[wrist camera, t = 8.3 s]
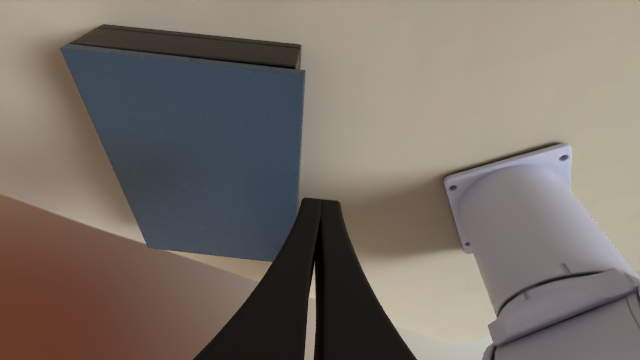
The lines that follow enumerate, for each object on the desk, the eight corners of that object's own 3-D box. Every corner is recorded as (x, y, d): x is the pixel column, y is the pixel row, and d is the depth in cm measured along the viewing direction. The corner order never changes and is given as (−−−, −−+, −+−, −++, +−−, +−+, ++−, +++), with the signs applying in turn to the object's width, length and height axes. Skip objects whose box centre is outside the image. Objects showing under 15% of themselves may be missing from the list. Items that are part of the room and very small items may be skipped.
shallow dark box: (301, 44, 18) (295, 66, 16) (293, 224, 28) (289, 253, 26) (103, 23, 18) (68, 42, 15) (167, 213, 28) (151, 241, 25)
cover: (305, 70, 15) (304, 75, 15) (294, 258, 25) (293, 264, 25) (67, 43, 15) (59, 47, 15) (151, 241, 25) (148, 248, 25)
